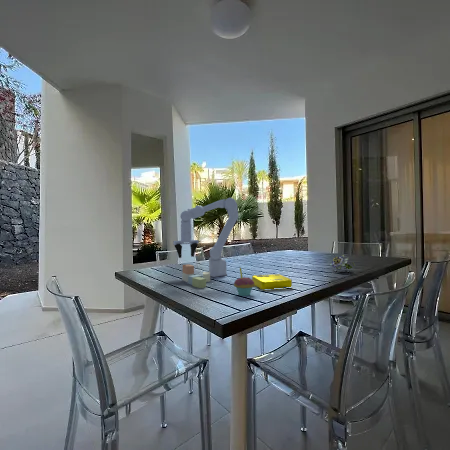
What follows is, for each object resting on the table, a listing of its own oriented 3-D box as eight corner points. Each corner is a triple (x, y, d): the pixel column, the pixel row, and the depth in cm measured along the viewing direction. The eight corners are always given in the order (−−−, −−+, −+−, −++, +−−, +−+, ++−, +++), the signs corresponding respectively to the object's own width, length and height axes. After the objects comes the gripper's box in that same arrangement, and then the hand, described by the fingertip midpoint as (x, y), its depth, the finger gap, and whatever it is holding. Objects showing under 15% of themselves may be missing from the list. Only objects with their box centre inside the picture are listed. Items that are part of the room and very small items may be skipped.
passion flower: (336, 280, 174) (324, 263, 179) (348, 275, 179) (336, 258, 184) (348, 272, 165) (336, 254, 170) (360, 267, 170) (348, 250, 175)
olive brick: (192, 286, 139) (192, 277, 139) (198, 285, 141) (198, 276, 141) (200, 288, 134) (200, 279, 134) (206, 287, 137) (206, 278, 136)
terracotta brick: (194, 273, 149) (193, 265, 149) (187, 274, 147) (187, 266, 147) (188, 271, 154) (188, 264, 154) (182, 272, 152) (182, 264, 152)
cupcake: (240, 298, 117) (240, 268, 117) (230, 293, 125) (230, 265, 124) (258, 295, 121) (258, 266, 121) (247, 291, 129) (247, 263, 128)
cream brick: (203, 279, 154) (203, 272, 154) (209, 279, 154) (209, 271, 154) (203, 282, 148) (203, 274, 148) (210, 282, 148) (210, 274, 148)
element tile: (262, 291, 129) (262, 280, 129) (250, 284, 143) (250, 274, 143) (293, 289, 133) (293, 278, 133) (278, 282, 147) (278, 272, 147)
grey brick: (182, 280, 152) (182, 272, 152) (188, 279, 154) (188, 271, 154) (187, 282, 147) (187, 274, 147) (193, 281, 149) (193, 273, 149)
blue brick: (197, 282, 147) (197, 274, 147) (202, 283, 145) (202, 275, 145) (188, 284, 143) (188, 276, 143) (192, 285, 141) (192, 277, 140)
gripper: (194, 232, 170) (194, 255, 170) (170, 232, 162) (171, 257, 162) (200, 232, 164) (200, 256, 165) (176, 233, 156) (176, 258, 156)
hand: (186, 257), depth 163 cm, fingers open, 7 cm apart
